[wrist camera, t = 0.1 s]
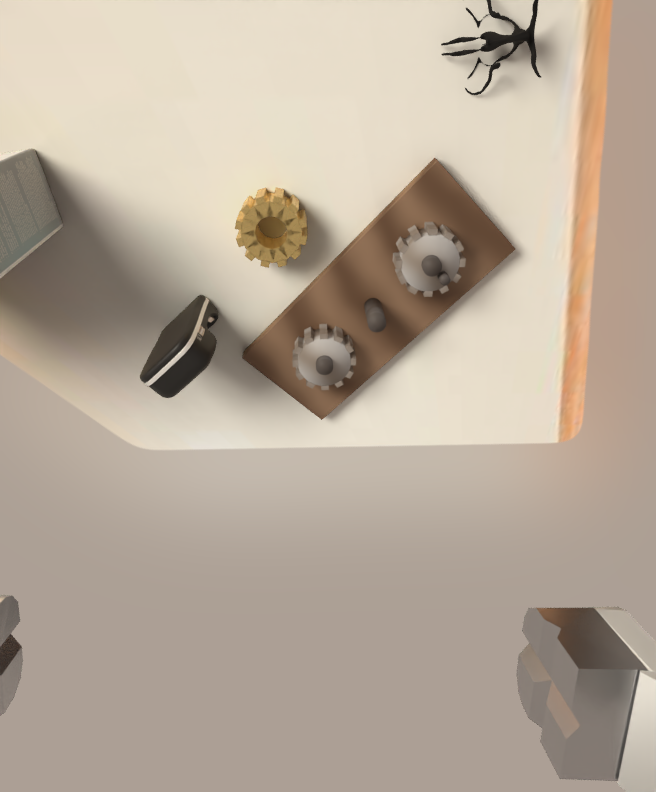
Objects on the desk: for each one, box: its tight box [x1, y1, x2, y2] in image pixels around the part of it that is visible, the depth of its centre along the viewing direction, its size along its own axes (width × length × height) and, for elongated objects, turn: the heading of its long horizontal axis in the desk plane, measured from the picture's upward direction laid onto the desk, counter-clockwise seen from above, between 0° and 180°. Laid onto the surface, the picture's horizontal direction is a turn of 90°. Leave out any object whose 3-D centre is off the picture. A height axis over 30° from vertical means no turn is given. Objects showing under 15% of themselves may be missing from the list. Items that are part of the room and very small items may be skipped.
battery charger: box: [140, 295, 218, 398], centre depth 58 cm, size 7×4×11 cm, turn 132°
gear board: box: [242, 158, 515, 420], centre depth 59 cm, size 28×12×6 cm, turn 136°
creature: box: [441, 0, 541, 95], centre depth 48 cm, size 8×5×8 cm
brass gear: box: [235, 188, 307, 268], centre depth 56 cm, size 7×7×4 cm
